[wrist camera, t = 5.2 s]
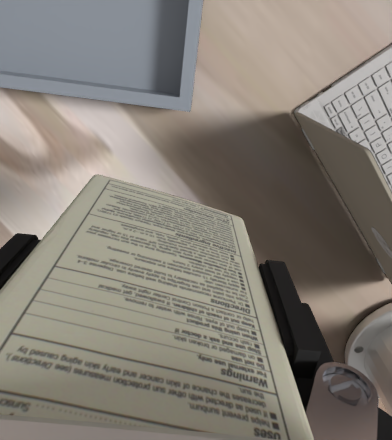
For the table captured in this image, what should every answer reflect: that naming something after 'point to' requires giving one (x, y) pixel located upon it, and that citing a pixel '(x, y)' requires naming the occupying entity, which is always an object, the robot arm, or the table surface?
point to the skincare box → (146, 321)
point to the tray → (102, 49)
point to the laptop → (358, 147)
